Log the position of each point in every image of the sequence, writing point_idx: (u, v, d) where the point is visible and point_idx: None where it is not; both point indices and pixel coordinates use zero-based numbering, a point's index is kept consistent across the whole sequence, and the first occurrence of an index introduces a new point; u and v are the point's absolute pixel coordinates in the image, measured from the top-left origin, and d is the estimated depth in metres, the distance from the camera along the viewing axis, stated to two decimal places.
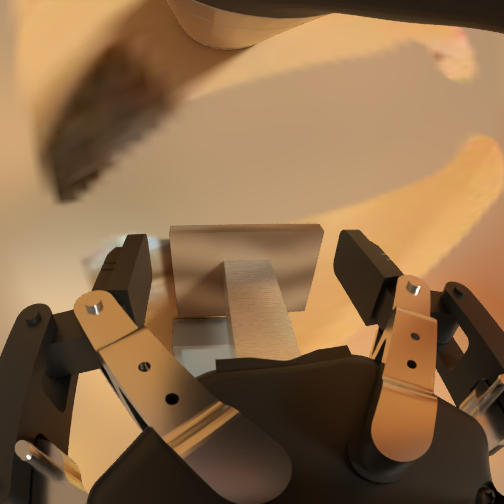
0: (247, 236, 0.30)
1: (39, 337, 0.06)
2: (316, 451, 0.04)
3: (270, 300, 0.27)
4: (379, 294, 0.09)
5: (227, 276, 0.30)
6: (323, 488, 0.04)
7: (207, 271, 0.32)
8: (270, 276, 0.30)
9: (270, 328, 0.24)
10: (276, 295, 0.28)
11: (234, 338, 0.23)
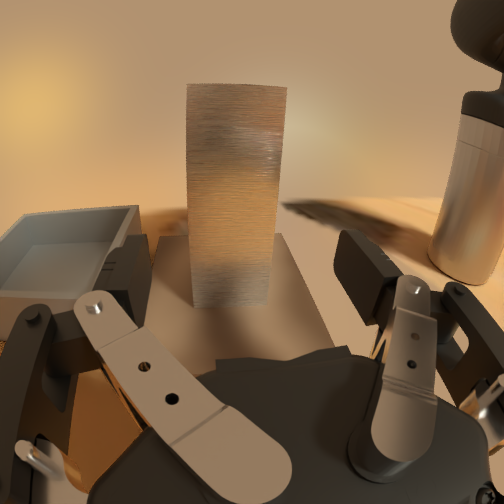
0: (297, 280, 0.23)
1: (39, 337, 0.06)
2: (316, 451, 0.04)
3: None
4: (379, 294, 0.09)
5: None
6: (323, 488, 0.04)
7: None
8: None
9: None
10: None
11: None
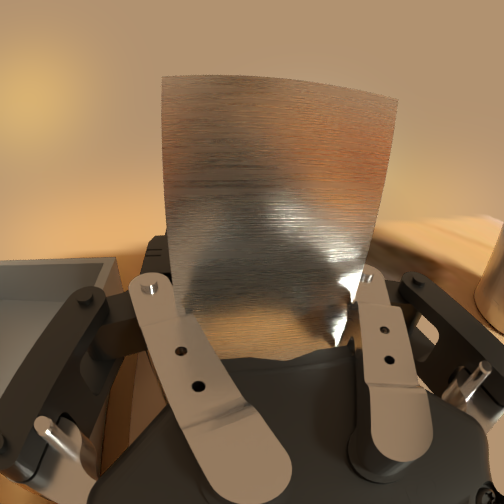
0: None
1: (96, 317, 0.07)
2: (316, 451, 0.04)
3: None
4: None
5: None
6: (323, 488, 0.04)
7: None
8: None
9: None
10: None
11: None
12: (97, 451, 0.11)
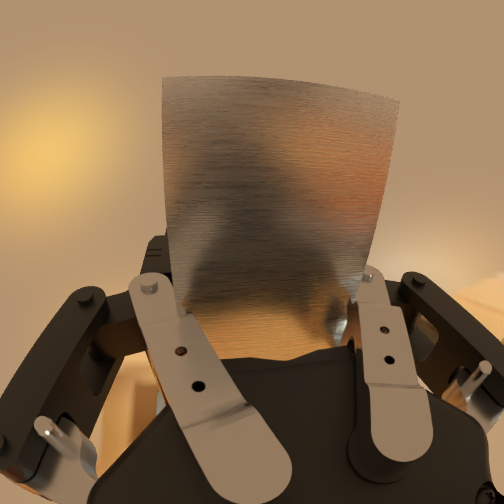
0: None
1: (96, 317, 0.07)
2: (316, 450, 0.04)
3: None
4: None
5: None
6: (323, 488, 0.04)
7: None
8: None
9: None
10: None
11: None
12: None
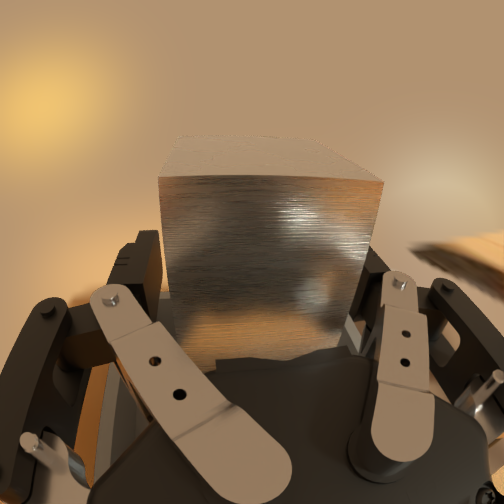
0: None
1: (55, 330, 0.06)
2: (316, 451, 0.04)
3: None
4: (365, 290, 0.10)
5: None
6: (323, 488, 0.04)
7: None
8: None
9: None
10: None
11: None
12: None
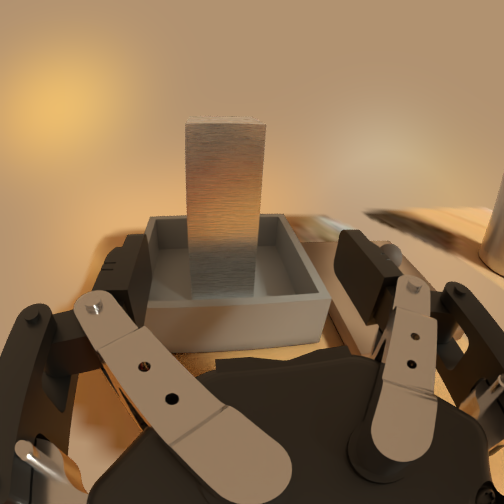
0: (420, 277, 0.28)
1: (39, 337, 0.06)
2: (316, 450, 0.04)
3: None
4: (379, 294, 0.09)
5: None
6: (323, 488, 0.04)
7: None
8: None
9: None
10: None
11: None
12: None
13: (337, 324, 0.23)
